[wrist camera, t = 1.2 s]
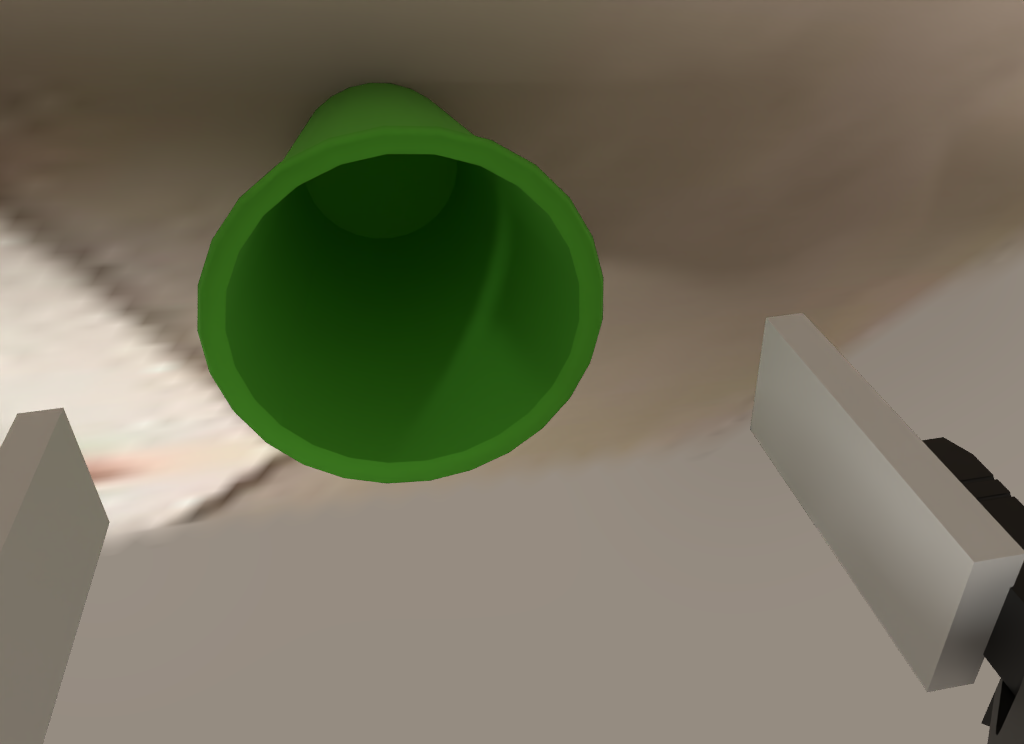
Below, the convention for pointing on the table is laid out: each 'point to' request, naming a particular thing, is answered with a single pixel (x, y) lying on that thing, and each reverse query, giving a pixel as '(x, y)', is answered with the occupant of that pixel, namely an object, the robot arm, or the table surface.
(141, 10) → the table surface
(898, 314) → the table surface
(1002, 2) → the table surface
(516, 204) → the cup
